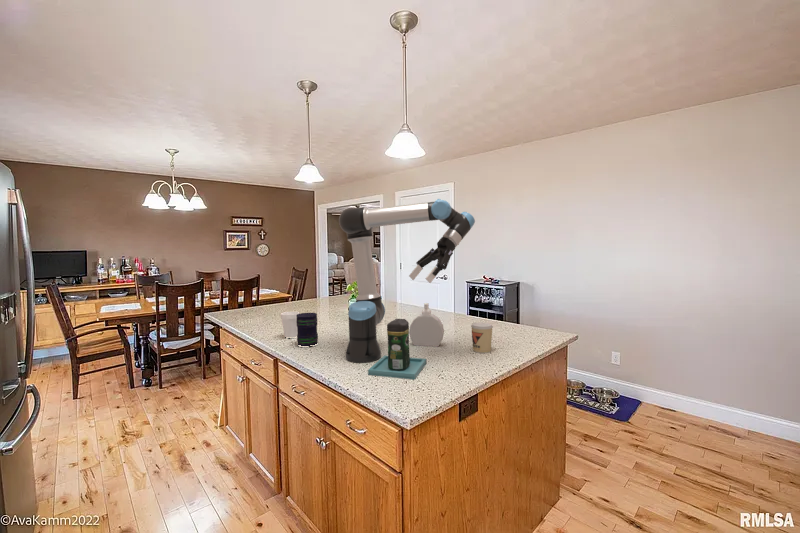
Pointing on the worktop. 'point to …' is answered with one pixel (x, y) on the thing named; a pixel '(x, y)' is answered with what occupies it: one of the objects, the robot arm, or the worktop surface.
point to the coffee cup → (481, 337)
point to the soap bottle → (426, 329)
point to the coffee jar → (398, 344)
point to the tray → (409, 373)
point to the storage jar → (307, 329)
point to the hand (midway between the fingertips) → (419, 279)
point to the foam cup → (289, 323)
